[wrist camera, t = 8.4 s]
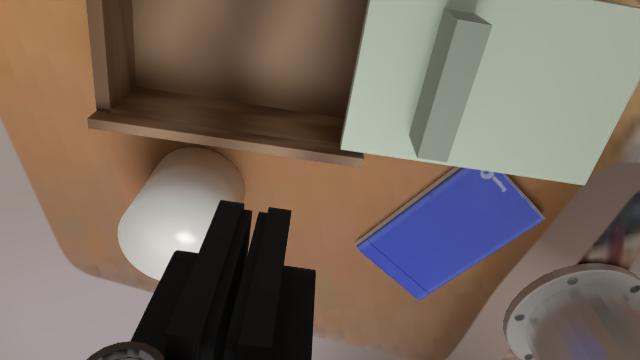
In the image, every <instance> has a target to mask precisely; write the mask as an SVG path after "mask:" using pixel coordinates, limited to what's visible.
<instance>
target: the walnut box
mask: <svg viewBox="0 0 640 360" xmlns="http://www.w3.org/2000/svg"><path fill="white" fill-rule="evenodd" d="M86 3H87V13H88V24H89V35H90V45H91V56H92V66H93V77H94V88H95V98H96V109H97V111H96V112H95V113H93V114H92V115H91V116H90V117H89V118H88V128H91V129H98V130H104V131H111V132H118V133H125V134H132V135H139V136H146V137H153V138H159V139H166V140H173V141H180V142H187V143H194V144H201V145H208V146H214V147H221V148H228V149H235V150H242V151H249V152H256V153H263V154H270V155H276V156H283V157H290V158H297V159H304V160H311V161H318V162H325V163H331V164H338V165H345V166H352V167H359V168H362V166H363V162H364V155H363V153H361V152H354V151H348V150H341V148H340V141H341V135H342V130H343V125H344V120H345V115H346V110H347V105H348V100H349V95H350V90H351V85H352V80H353V74H354V69H355V64H356V59H357V54H358V49H359V44H360V39H361V34H362V29H363V24H364V18H365V13H366V8H367V3H368V0H86Z"/></svg>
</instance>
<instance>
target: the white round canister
mask: <svg viewBox="0 0 640 360" xmlns="http://www.w3.org/2000/svg"><path fill="white" fill-rule="evenodd" d="M244 194H245V188H244V183H243V179H242V177H241V175H240V173H239V171H238V170H237V168H236V167H235V166H234V165H233V164H232V163H231V162H230V161H229V160H228V159H227V158H225V157H224V156H222V155H221V154H219V153H217V152H215V151H212V150H209V149H206V148H201V147H186V148H181V149H177V150H175V151H173V152H171V153H169V154H168V155H166V156H165V157H164V158H163V159H162V160H161V161H160V162H159V164H158V165H157V167H156V168H155V170H154V171H153V173H152V174H151V176H150V177H149V178H148V180H147V181H146V183H145V184H144V186H143V187H142V189H141V190H140V192H139V193H138V195H137V196H136V197H135V199H134V200H133V202H132V203H131V205H130V206H129V208H128V209H127V211H126V212H125V213H124V215H123V217H122V218H121V220H120V223H119V227H118V240H119V244H120V247H121V249H122V251H123V253H124V255H125V256H126V258H127V259H128V260H129V261H130V263H131V264H132V265H134V266H135V267H136V268H137V269H138V270H140V271H141V272H143V273H144V274H146V275H148V276H150V277H152V278H154V279H156V280H159V281H160V280H161V278H162V275H163V273H164V271H165V269H166V267H167V265H168V263H169V261H170V259H171V257H172V255H173V254H174V252H175V251H176V250H181V251H187V252H194V253H199V250H200V248H201V245H202V243H203V241H204V238H205V236H206V233H207V231H208V228H209V226H210V224H211V221H212V219H213V216H214V214H215V211H216V209H217V207H218V204H219V202H220V200H226V201H232V202H239V203H243V200H244Z"/></svg>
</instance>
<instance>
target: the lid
mask: <svg viewBox="0 0 640 360" xmlns="http://www.w3.org/2000/svg"><path fill="white" fill-rule="evenodd" d="M639 80H640V7H635V6H630V5H624V4H618V3H613V2H607V1H601V0H368V3H367V8H366V13H365V18H364V24H363V29H362V34H361V39H360V44H359V49H358V54H357V59H356V64H355V69H354V74H353V80H352V85H351V90H350V95H349V100H348V105H347V110H346V115H345V120H344V125H343V130H342V135H341V141H340V148H341V150H348V151H354V152H361V153H368V154H375V155H381V156H388V157H395V158H402V159H409V160H415V161H422V162H429V163H436V164H442V165H449V166H456V167H463V168H470V169H476V170H483V171H490V172H497V173H504V174H510V175H517V176H524V177H531V178H537V179H544V180H551V181H558V182H565V183H571V184H578V185H585V184H586V182H587V180H588V178H589V176H590V175H591V173H592V171H593V169H594V167H595V165H596V163H597V161H598V159H599V157H600V155H601V153H602V151H603V149H604V148H605V146H606V144H607V142H608V140H609V138H610V136H611V134H612V132H613V130H614V128H615V126H616V124H617V123H618V121H619V119H620V117H621V115H622V113H623V111H624V109H625V107H626V105H627V103H628V101H629V99H630V98H631V96H632V94H633V92H634V90H635V88H636V86H637V84H638V82H639Z"/></svg>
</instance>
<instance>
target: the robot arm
mask: <svg viewBox="0 0 640 360" xmlns="http://www.w3.org/2000/svg"><path fill="white" fill-rule="evenodd" d="M290 218H291V210H285V209H278V208H272V207H269V209H268V213H264V212H259V214H258V217H257V221H256V225H255V229H254V233H253V237H252V240H251V244H250V248H249V252H248V246H249V237H250V228H251V219H252V211H251V210H244V203H239V202H232V201H226V200H220V202H219V204H218V207H217V209H216V211H215V214H214V216H213V219H212V221H211V224H210V226H209V228H208V231H207V233H206V236H205V238H204V241H203V243H202V245H201V248H200V250H199V253H194V252H187V251H181V250H176V251H175V252H174V254H173V255H172V257H171V259H170V261H169V263H168V265H167V267H166V269H165V271H164V273H163V275H162V278H161V280H160V282H159V284H158V286H157V288H156V290H155V292H154V294H153V296H152V298H151V300H150V302H149V304H148V306H147V308H146V311H145V312H144V315H143V317H142V319H141V321H140V323H139V325H138V327H137V329H136V331H135V333H134V335H133V337H132V339H131V341H129V342H121V343H116V344H113V345H110V346H107V347H104V348H103V349H101V350H99V351H97V352H96V353H94V354H93V355H91V356H90V357H89V358H88V359H87V360H311V356H312V337H313V317H314V298H315V278H316V271H315V270H311V269H304V268H298V267H291V266H284V259H285V252H286V245H287V238H288V232H289V225H290ZM247 255H248V256H247ZM503 330H504V334H505V338H506V340H507V342H508V344H509V347H510V349H511V350H512V351H513V353H514V354H515V355H516V356H517V357H518V358H519V359H521V360H640V279H639V278H638V277H637V276H636V275H635V274H633V273H631V272H630V271H628V270H626V269H624V268H621V267H618V266H615V265H609V264H601V263H591V264H580V265H573V266H568V267H565V268H562V269H558V270H555V271H553V272H551V273H549V274H546V275H544V276H542V277H540V278H538V279H537V280H535V281H534V282H532V283H531V284H529V285H528V286H527V287H526V288H524V289H523V290H522V291H521V292H520V293H519V294H518V295H517V296H516V297H515V299H514V300H513V301H512V302H511V304H510V306H509V308H508V309H507V311H506V314H505V318H504V326H503Z"/></svg>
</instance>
